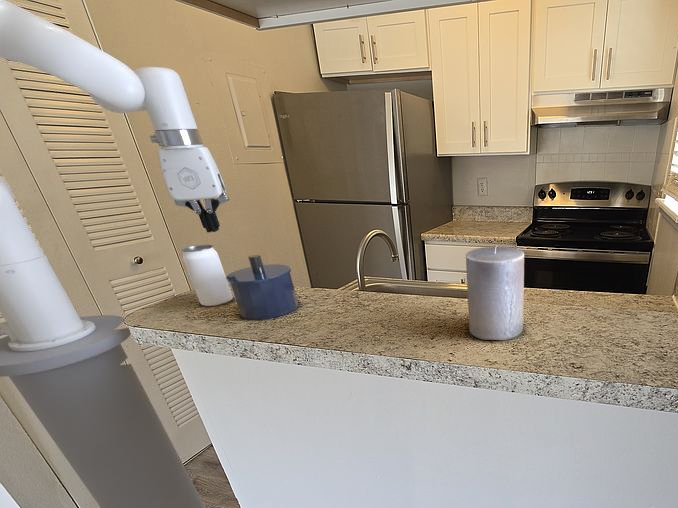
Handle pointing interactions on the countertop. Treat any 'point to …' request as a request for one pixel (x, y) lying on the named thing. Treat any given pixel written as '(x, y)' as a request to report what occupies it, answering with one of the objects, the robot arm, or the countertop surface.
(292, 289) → the pot
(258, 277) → the pot lid
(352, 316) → the countertop surface
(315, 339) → the countertop surface
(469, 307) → the pillar candle
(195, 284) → the can
